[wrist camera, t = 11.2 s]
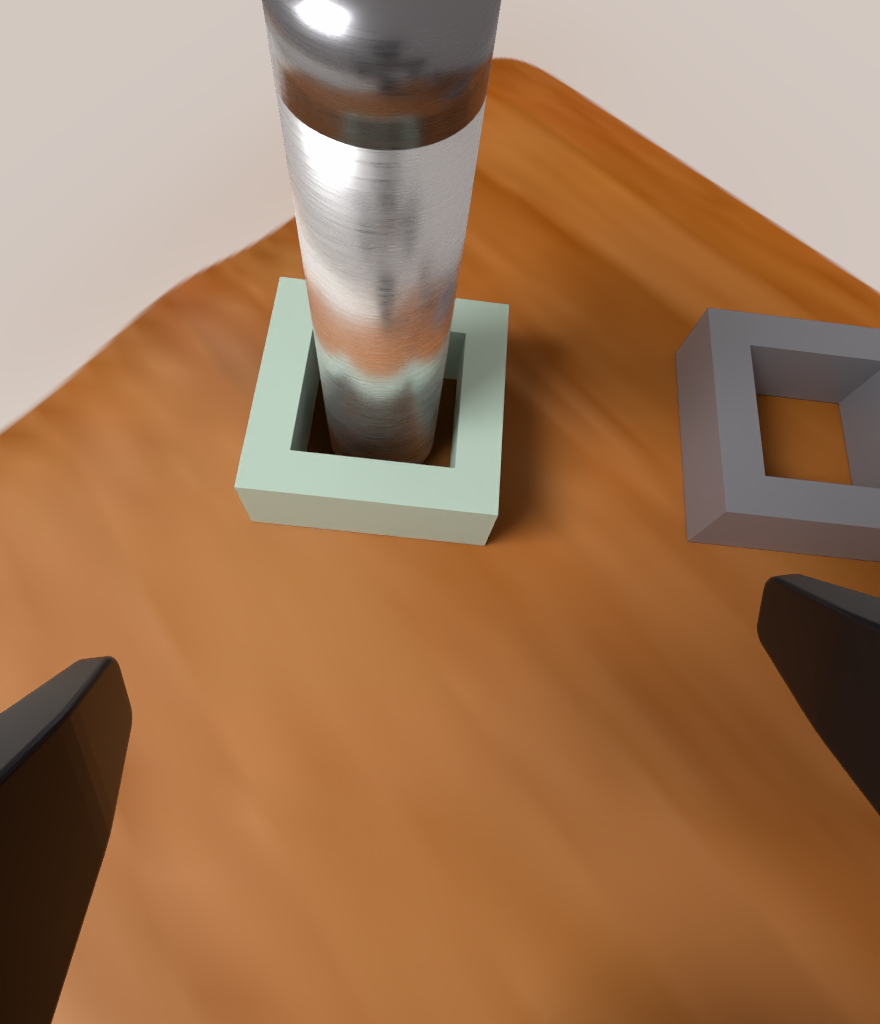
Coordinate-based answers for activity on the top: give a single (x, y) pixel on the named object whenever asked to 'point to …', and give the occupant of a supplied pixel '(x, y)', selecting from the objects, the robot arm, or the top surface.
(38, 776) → the robot arm
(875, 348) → the charcoal socket
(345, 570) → the top surface
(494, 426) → the sage socket
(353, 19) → the steel peg
